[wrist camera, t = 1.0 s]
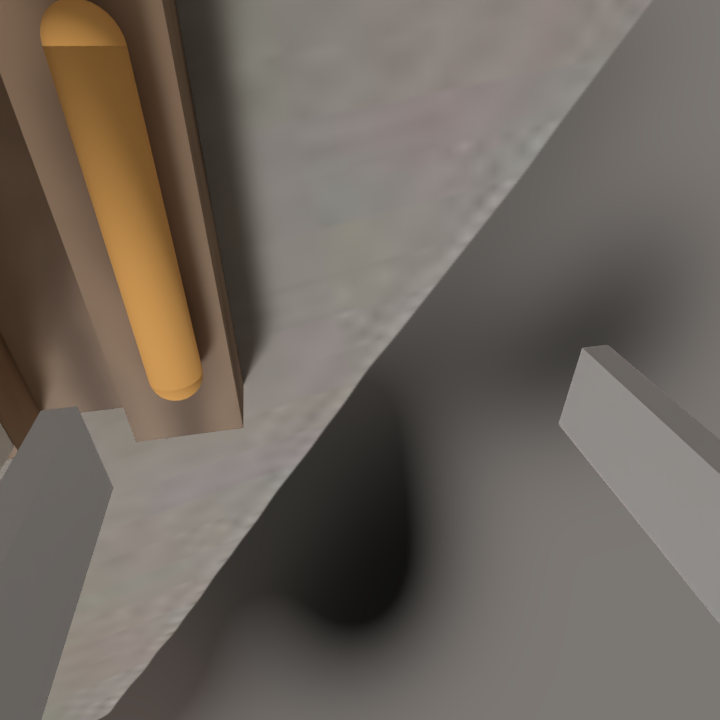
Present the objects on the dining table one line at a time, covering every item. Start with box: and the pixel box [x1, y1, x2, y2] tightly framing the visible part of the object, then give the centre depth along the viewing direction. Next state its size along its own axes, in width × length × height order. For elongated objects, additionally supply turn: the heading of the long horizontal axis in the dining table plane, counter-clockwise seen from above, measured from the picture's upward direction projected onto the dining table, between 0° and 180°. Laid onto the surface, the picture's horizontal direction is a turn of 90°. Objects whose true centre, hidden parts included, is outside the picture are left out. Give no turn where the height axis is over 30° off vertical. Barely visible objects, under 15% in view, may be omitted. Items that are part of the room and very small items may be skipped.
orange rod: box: [40, 0, 203, 401], centre depth 23 cm, size 3×19×3 cm, turn 0°
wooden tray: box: [0, 0, 243, 459], centre depth 25 cm, size 18×28×5 cm, turn 0°
